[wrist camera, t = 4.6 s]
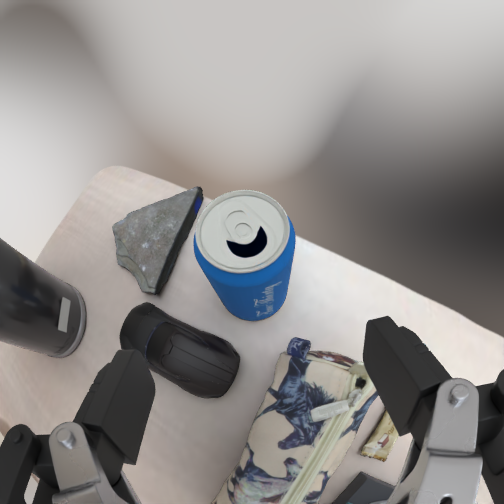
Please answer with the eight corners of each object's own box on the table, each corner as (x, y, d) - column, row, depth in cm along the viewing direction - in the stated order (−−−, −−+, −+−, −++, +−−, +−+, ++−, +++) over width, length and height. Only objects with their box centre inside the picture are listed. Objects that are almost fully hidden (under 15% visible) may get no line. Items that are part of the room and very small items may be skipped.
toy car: (144, 301, 27) (127, 289, 23) (249, 350, 24) (245, 346, 21) (120, 348, 25) (101, 343, 21) (224, 405, 22) (216, 410, 19)
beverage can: (236, 333, 25) (209, 298, 14) (211, 275, 28) (176, 208, 17) (298, 305, 26) (317, 250, 15) (269, 250, 29) (267, 171, 18)
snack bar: (404, 366, 22) (430, 375, 20) (402, 369, 23) (426, 377, 21) (358, 454, 18) (385, 464, 16) (358, 452, 19) (383, 462, 18)
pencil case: (284, 342, 24) (292, 322, 16) (366, 369, 23) (415, 362, 14) (197, 520, 16) (166, 567, 7) (275, 544, 14) (275, 598, 6)
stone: (162, 300, 27) (153, 293, 25) (97, 276, 29) (86, 269, 27) (206, 196, 32) (201, 184, 30) (142, 187, 34) (136, 176, 32)
